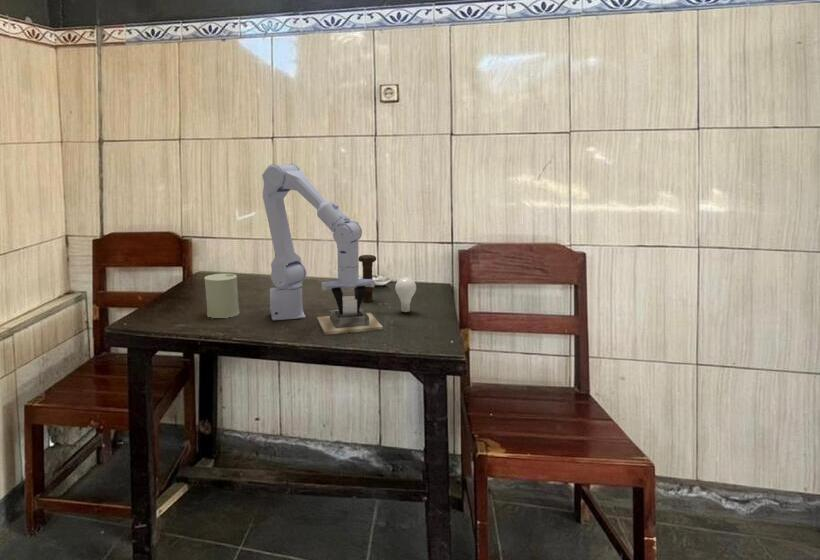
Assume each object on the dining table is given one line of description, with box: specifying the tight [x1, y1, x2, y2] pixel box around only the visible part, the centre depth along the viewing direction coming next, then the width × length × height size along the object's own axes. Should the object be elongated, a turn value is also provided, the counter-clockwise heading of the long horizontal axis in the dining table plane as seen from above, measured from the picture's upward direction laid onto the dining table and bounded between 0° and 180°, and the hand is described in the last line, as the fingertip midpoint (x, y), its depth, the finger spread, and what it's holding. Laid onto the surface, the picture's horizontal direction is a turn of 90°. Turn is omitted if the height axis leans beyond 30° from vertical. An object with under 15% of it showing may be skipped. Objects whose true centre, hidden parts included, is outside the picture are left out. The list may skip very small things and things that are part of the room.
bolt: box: [358, 254, 377, 303], centre depth 175 cm, size 6×5×15 cm
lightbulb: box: [394, 276, 417, 314], centre depth 163 cm, size 6×6×11 cm
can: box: [204, 273, 240, 319], centre depth 159 cm, size 9×9×12 cm
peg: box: [340, 295, 357, 318], centre depth 152 cm, size 4×4×6 cm
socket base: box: [316, 307, 384, 336], centre depth 152 cm, size 16×14×3 cm
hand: (348, 312), depth 152 cm, fingers closed on peg, 4 cm apart
